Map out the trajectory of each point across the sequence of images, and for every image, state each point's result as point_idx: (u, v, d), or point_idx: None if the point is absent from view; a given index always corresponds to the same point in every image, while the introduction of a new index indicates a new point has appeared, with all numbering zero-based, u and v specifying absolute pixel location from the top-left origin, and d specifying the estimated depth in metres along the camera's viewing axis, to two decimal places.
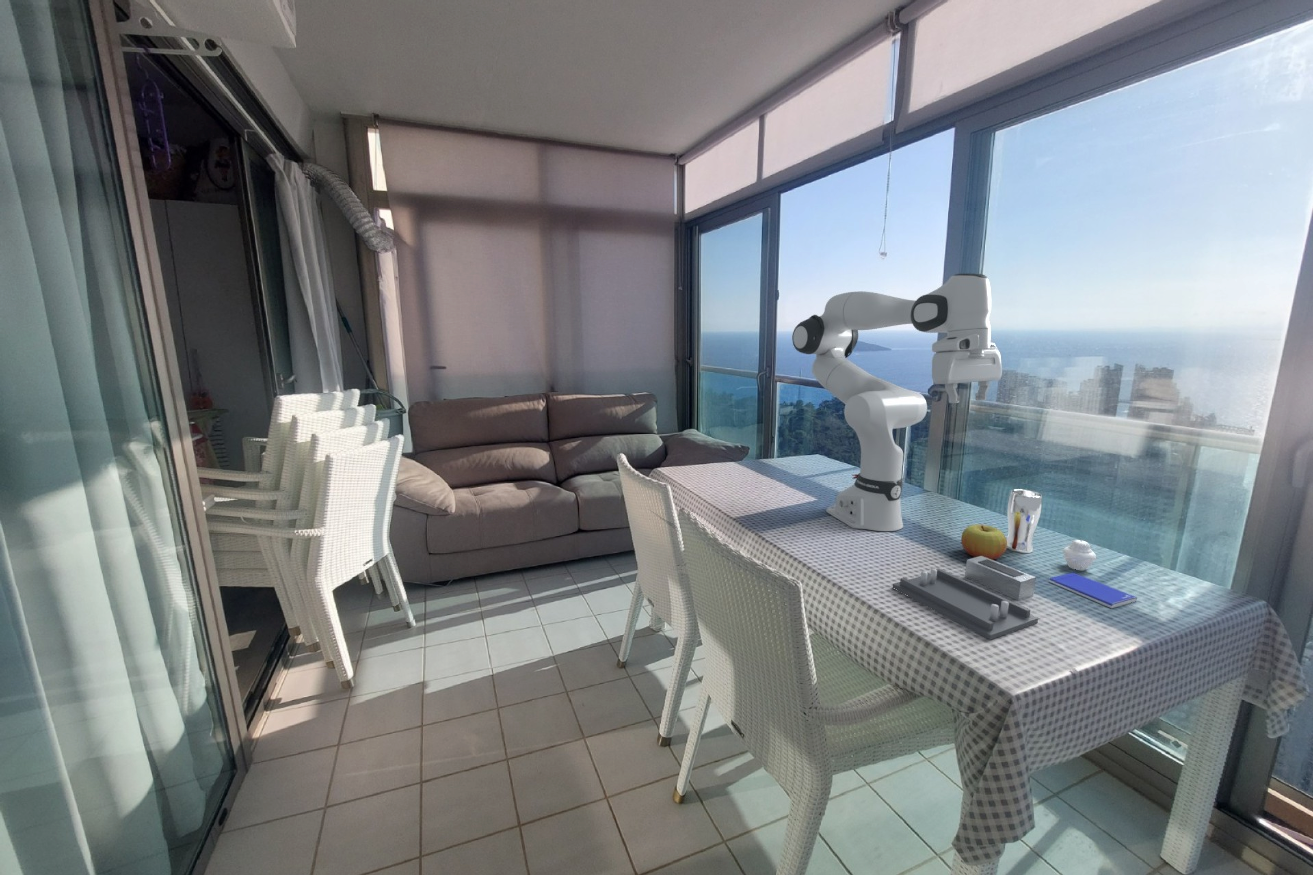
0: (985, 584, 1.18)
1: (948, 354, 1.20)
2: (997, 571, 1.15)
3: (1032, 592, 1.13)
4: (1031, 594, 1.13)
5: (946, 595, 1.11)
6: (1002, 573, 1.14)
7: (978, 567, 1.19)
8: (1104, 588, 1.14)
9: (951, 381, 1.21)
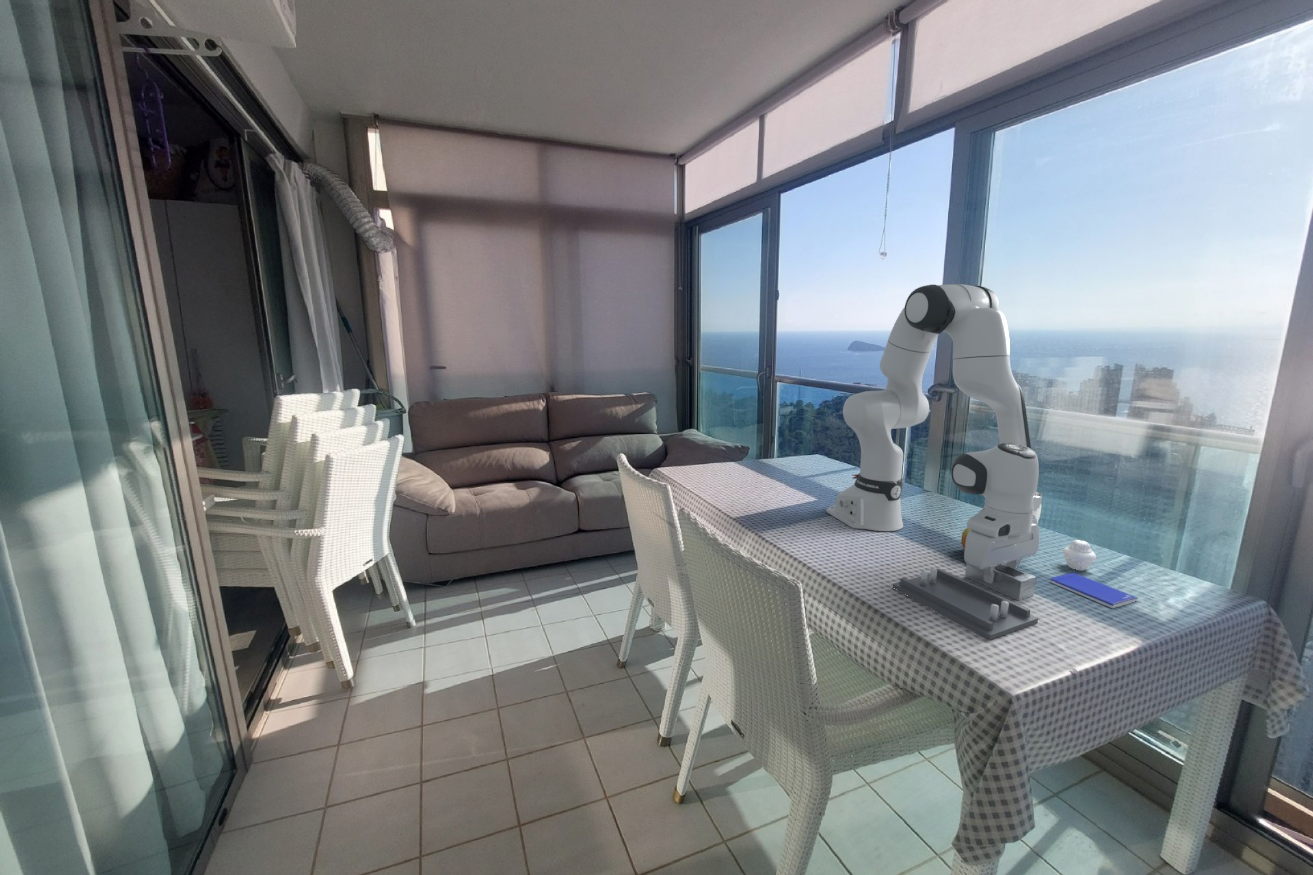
0: (985, 583, 1.18)
1: (985, 540, 1.10)
2: (998, 571, 1.15)
3: (1032, 592, 1.13)
4: (1031, 594, 1.13)
5: (946, 595, 1.11)
6: (1002, 573, 1.14)
7: None
8: (1105, 588, 1.14)
9: (985, 567, 1.11)
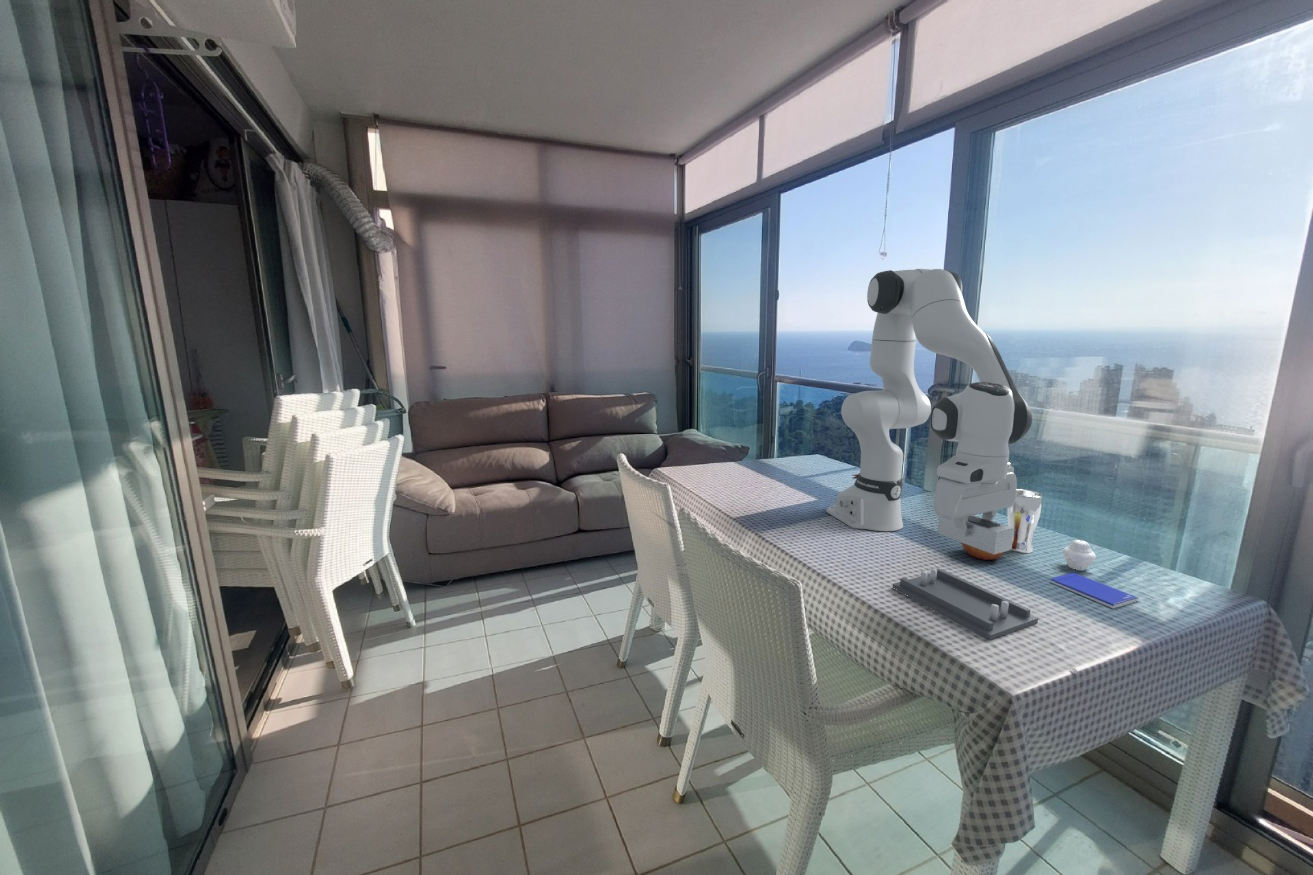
0: (959, 538, 1.07)
1: (955, 486, 1.00)
2: (972, 523, 1.04)
3: (1009, 545, 1.02)
4: (1008, 547, 1.02)
5: (946, 595, 1.11)
6: (977, 524, 1.04)
7: (951, 520, 1.08)
8: (1105, 588, 1.14)
9: (956, 517, 1.01)
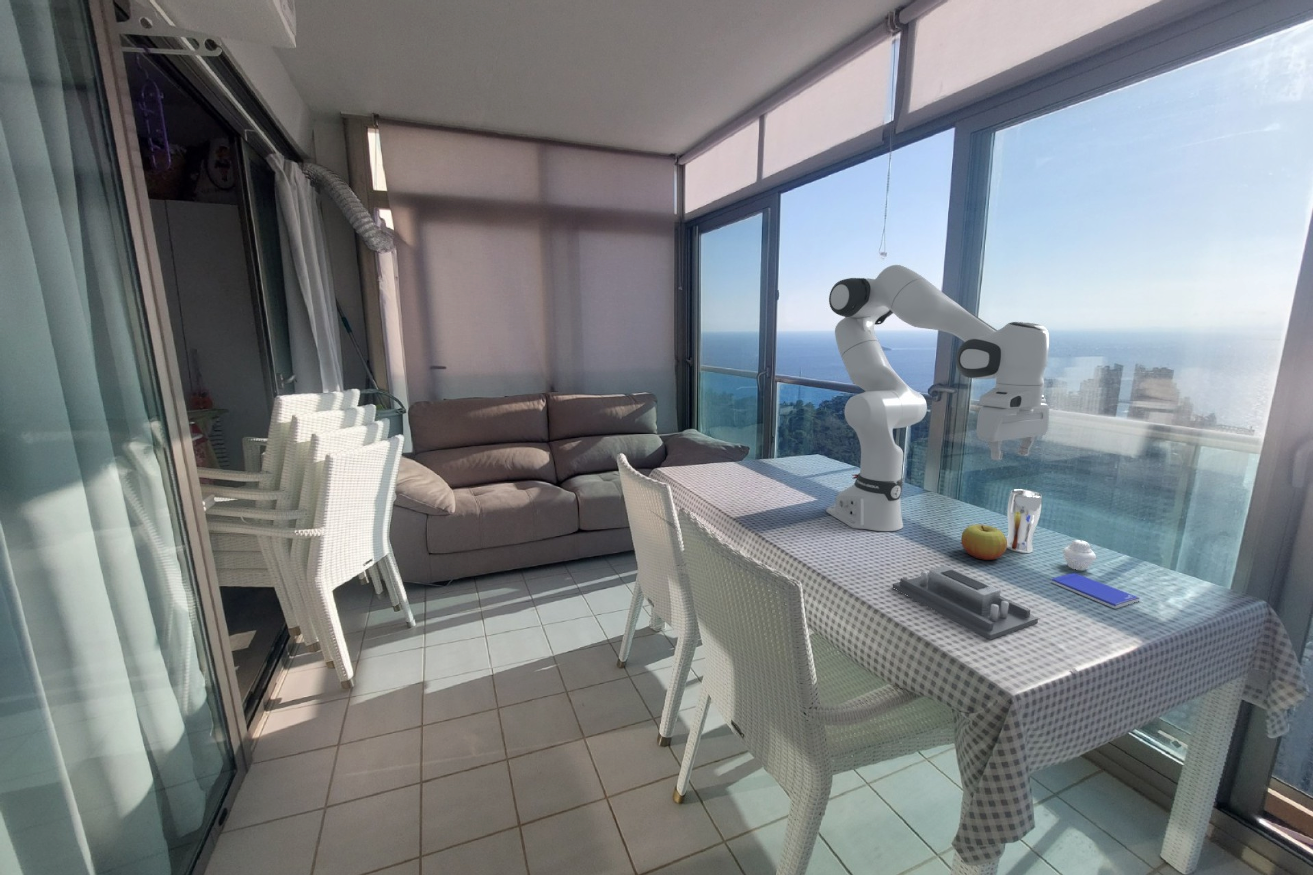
0: (948, 596, 1.10)
1: (997, 411, 1.13)
2: (960, 583, 1.07)
3: None
4: None
5: None
6: (965, 585, 1.06)
7: (941, 578, 1.11)
8: (1106, 588, 1.14)
9: (997, 439, 1.15)
